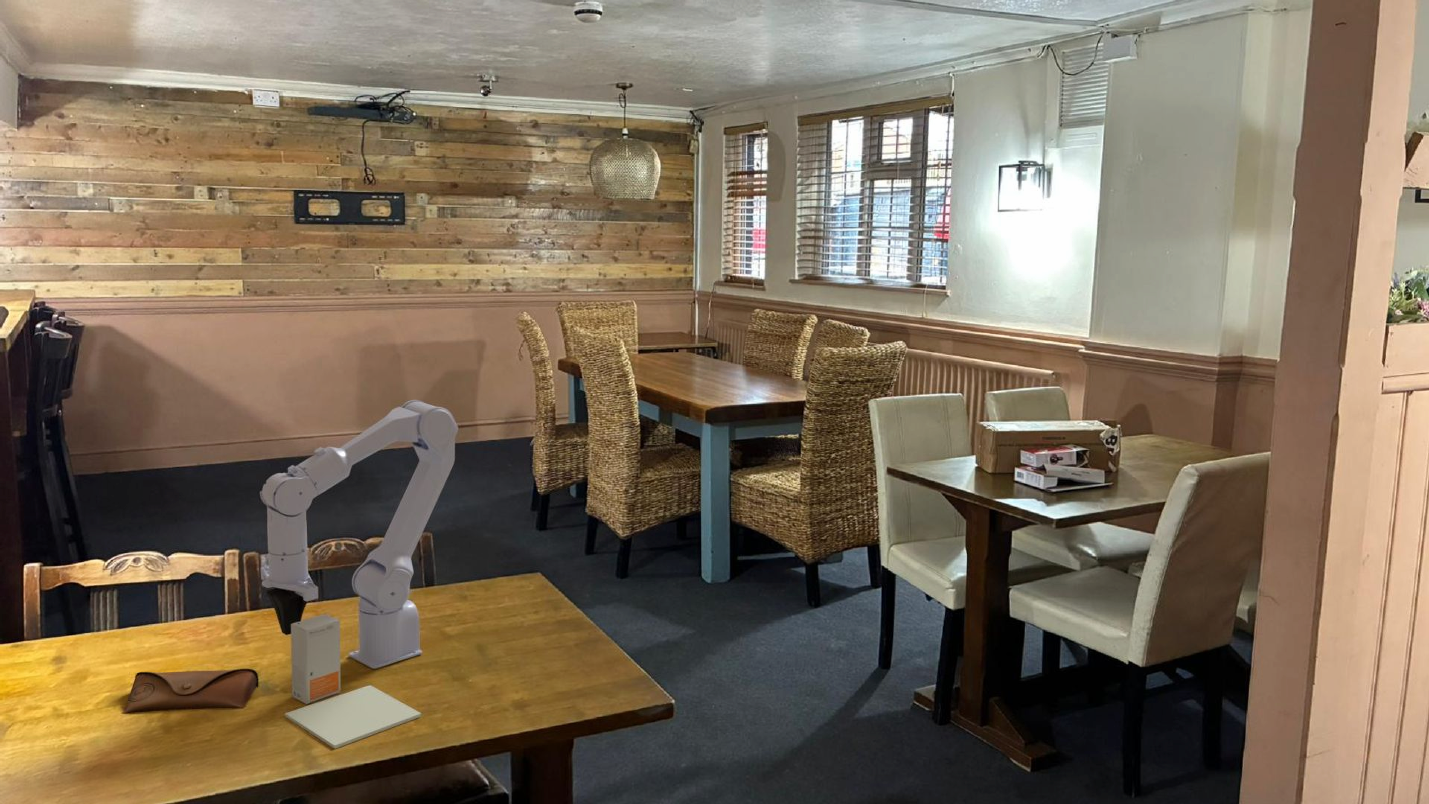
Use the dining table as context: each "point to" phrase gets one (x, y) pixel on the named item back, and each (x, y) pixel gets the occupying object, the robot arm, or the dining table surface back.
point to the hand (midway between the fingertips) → (290, 632)
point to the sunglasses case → (191, 690)
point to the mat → (352, 716)
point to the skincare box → (315, 658)
